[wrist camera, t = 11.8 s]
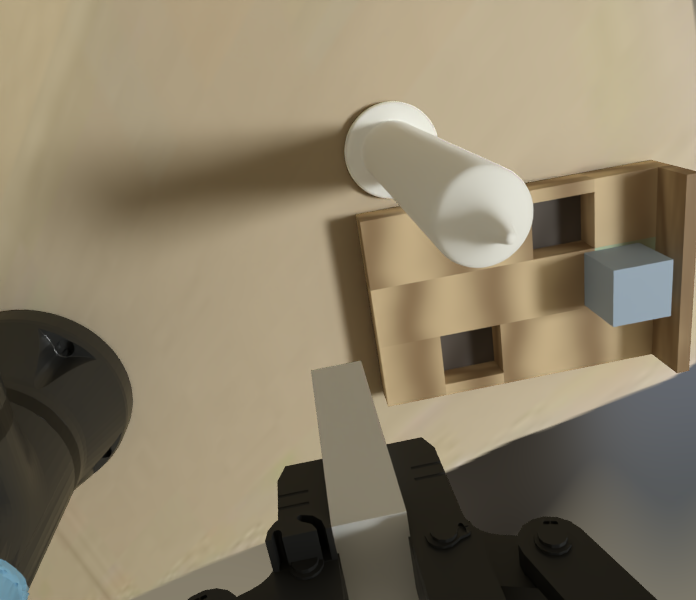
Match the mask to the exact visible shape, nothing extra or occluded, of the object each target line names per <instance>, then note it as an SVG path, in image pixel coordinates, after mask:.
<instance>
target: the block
mask: <svg viewBox="0 0 696 600" xmlns="http://www.w3.org/2000/svg"><path fill="white" fill-rule="evenodd" d="M673 260H674V259H672V258H669V257H667V256H665V255H663V254H661V253H659V252H657V251H655V250H653V249H651V248H649V247H647V246H645V245H643V244H641V243H634V244H629V245H624V246H618V247H613V248H608V249H602V250H597V251H592V252H586V253H584V294H585V306H586V307H588V308H589V309H590V310H592V311H593V312H594V313H595V314H597V315H598V316H599V317H601V318H602V319H603V320H605V321H606V322H607V323H608V324H610V325H611V326H612V327H617V326H622V325H627V324H632V323H637V322H642V321H647V320H653V319H658V318H663V317H668V316H671V302H672V281H673Z"/></svg>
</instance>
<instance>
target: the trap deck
mask: <svg viewBox="0 0 696 600" xmlns="http://www.w3.org/2000/svg"><path fill="white" fill-rule="evenodd" d="M525 184H526V186H527V188H528V190H529V192H530V194H531V197H532V202H533V221H532V225H531V228H530V231H529V233H528V235H527V237H526V239H525V241H524V242H523V244H522V245H521V246H520V248H519V249H518V250H517V251H516V252H515V253H514V254H513V255H511V256H510V257H509V258H507V259H506V260H504V261H502V262H500V263H498V264H495V265H492V266H489V267H483V268H471V267H466V266H462V265H459V264H457V263H455V262H453V261H451V260H450V259H448V258H447V257H446V256H444V254H443V253H442V252H441V251H440V250H439V249H438V248H437V247H436V246H435V245H434V244H433V242H432V241H431V240H430V239H429V238H428V237H427V236H426V235H425V233H424V232H423V231H422V230H421V229H420V228H419V227H418V226H417V225H416V223H415V222H414V221H413V220H412V219H411V218H410V217H409V216H408V214H407V213H406V212H405V211H404V210H403V209H402V208H401V207H400V206H399V207H394V208H388V209H383V210H377V211H372V212H366V213H361V214H356V220H357V227H358V233H359V240H360V246H361V252H362V259H363V265H364V271H365V278H366V284H367V291H368V297H369V303H370V310H371V316H372V323H373V329H374V335H375V342H376V348H377V355H378V361H379V367H380V374H381V380H382V387H383V392H384V395H385V398H386V401H387V404H388V407H389V406H394V405H399V404H404V403H409V402H414V401H419V400H424V399H429V398H434V397H439V396H444V395H449V394H454V393H459V392H464V391H469V390H474V389H479V388H484V387H489V386H494V385H499V384H504V383H509V382H514V381H519V380H524V379H529V378H534V377H539V376H544V375H549V374H554V373H559V372H564V371H569V370H574V369H579V368H584V367H589V366H594V365H599V364H604V363H609V362H614V361H619V360H624V359H629V358H634V357H639V356H644V355H649V354H653V355H654V356H655V357H657V358H658V359H659V360H661V361H662V362H663V363H664V364H666V365H667V366H668V367H670V368H671V369H672V370H674V371H675V372H676V373H680V372H685V371H689V361H690V344H691V327H692V310H693V293H694V276H695V259H696V171H693V170H689V169H685V168H681V167H677V166H673V165H669V164H665V163H661V162H657V161H653V160H649V161H644V162H638V163H633V164H627V165H622V166H617V167H611V168H606V169H600V170H595V171H589V172H584V173H579V174H573V175H568V176H562V177H557V178H551V179H546V180H540V181H535V182H530V183H525ZM634 243H641V244H643V245H645V246H647V247H649V248H651V249H653V250H655V251H657V252H659V253H661V254H663V255H665V256H667V257H669V258H672V259H674V260H673V281H672V302H671V316H668V317H663V318H658V319H653V320H647V321H642V322H637V323H632V324H627V325H622V326H617V327H612V326H611V325H610V324H608V323H607V322H606V321H605V320H603V319H602V318H601V317H599V316H598V315H597V314H595V313H594V312H593V311H592V310H590V309H589V308H588V307H586V306H585V294H584V253H586V252H592V251H597V250H602V249H608V248H613V247H618V246H624V245H629V244H634Z"/></svg>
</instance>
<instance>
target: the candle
mask: <svg viewBox="0 0 696 600" xmlns="http://www.w3.org/2000/svg"><path fill="white" fill-rule="evenodd" d="M344 155H345V162H346V166H347V168H348V171H349V173H350V175H351V177H352V178H353V180H354V181H355V182H356V183H357V185H358V186H359V187H361V188H362V189H363V190H364V191H366V192H367V193H369V194H371V195H374V196H377V197H380V198H388V199H392V198H393V199H394V200H395V201H396V202H397V203H398V204H399V206H400V207H401V208H402V209H403V210H404V211H405V212H406V213H407V214H408V216H409V217H410V218H411V219H412V220H413V221H414V222H415V223H416V225H417V226H418V227H419V228H420V229H421V230H422V231H423V232H424V233H425V235H426V236H427V237H428V238H429V239H430V240H431V241H432V242H433V244H434V245H435V246H436V247H437V248H438V249H439V250H440V251H441V252H442V253H443V254H444V256H446V257H447V258H448V259H450V260H451V261H453V262H455V263H457V264H459V265H462V266H466V267H471V268H483V267H489V266H492V265H495V264H498V263H500V262H502V261H504V260H506V259H507V258H509V257H510V256H511V255H513V254H514V253H515V252H516V251H517V250H518V249H519V248H520V246H521V245H522V244H523V242H524V241H525V239H526V237H527V235H528V233H529V231H530V228H531V225H532V221H533V202H532V197H531V194H530V192H529V190H528V188H527V186H526V184H525V183H524V182H523V180H522V179H521V178H520V177H519V176H518V175H517V174H516V173H514V172H513V171H511V170H509V169H508V168H505V167H503V166H501V165H499V164H496V163H494V162H492V161H490V160H488V159H485V158H483V157H481V156H479V155H476V154H474V153H472V152H470V151H468V150H465V149H463V148H461V147H459V146H456V145H454V144H452V143H450V142H448V141H445V140H443V139H441V138H439V137H437V133H436V130H435V128H434V126H433V124H432V122H431V121H430V119H429V118H428V117H427V116H426V115H425V114H424V113H423V112H422V111H421V110H419V109H418V108H416V107H415V106H413V105H410V104H407V103H404V102H399V101H387V102H381V103H378V104H376V105H373V106H371V107H369V108H368V109H366V110H365V111H364V112H362V113H361V114H360V115H359V116H358V117H357V118H356V120H355V121H354V122H353V124H352V125H351V127H350V129H349V131H348V134H347V137H346V141H345V148H344Z"/></svg>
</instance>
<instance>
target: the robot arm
mask: <svg viewBox="0 0 696 600" xmlns="http://www.w3.org/2000/svg"><path fill="white" fill-rule="evenodd" d="M311 374H312V381H313V389H314V397H315V405H316V412H317V420H318V428H319V436H320V444H321V451H322V459H319V460H314V461H310V462H305V463H300V464H295V465H290V466H285V468H284V470H283V472H282V474H281V476H280V478H279V479H278V521H276V522H275V523H274V524H273V525H272V527H271V528H270V529H269V530H268V532H267V536H266V540H265V542H266V546H267V550H268V553H269V557H270V560H271V564H272V568H273V572H272V573H271V574H270V576H269V577H268V578H267V579H266V580H265V581H264V582H262V583H261V584H260V585H258V586H257V587H255V588H253V589H252V590H250V591H248V592H246V593H244V594H242V595H240V596H238V597H236V596H235V595H234V594H232V593H231V592H230V591H228V590H223V589H217V588H216V589H210V590H205V591H202V592H200V593H198V594H196V595H194V596H192V597H190V598H189V599H188V600H657V599H656V598H655V597H654V596H653V595H651V594H650V593H649V592H648V591H647V590H646V589H645V588H644V587H643V586H642V585H641V584H640V583H639V582H638V581H637V580H635V579H634V578H633V577H632V576H631V575H630V574H629V573H628V572H627V571H626V570H625V569H624V568H623V567H622V566H620V565H619V564H618V563H617V562H616V561H615V560H614V559H613V558H612V557H611V556H610V555H609V554H607V552H605V551H604V550H603V549H602V548H601V547H600V546H599V545H598V544H597V543H596V542H595V541H594V540H593V539H592V538H590V537H589V536H588V535H587V534H586V533H585V532H584V531H583V530H582V529H581V528H579V527H578V526H576V525H574V524H573V523H572V522H570V521H568V520H564V519H561V518H558V517H541V518H537V519H533V520H531V521H529V522H528V523H526V524H525V525H523V526H522V528H521V530H520V532H519V533H518V536H513V535H498V534H491V533H487V532H484V531H481V530H479V529H477V528H476V527H474V526H473V525H472V524H471V522H470V521H468V520H467V519H466V518H465V517H464V515H463V513H462V511H461V509H460V506H459V504H458V502H457V499H456V497H455V495H454V492H453V490H452V488H451V485H450V483H449V480H448V478H447V476H446V475H445V471H444V469H443V466H442V464H441V463H440V459H439V457H438V455H437V452H436V450H435V448H434V447H433V446H432V445H431V444H429V443H428V442H427V441H426V440H424V439H423V438H422V437H421V438H416V439H411V440H406V441H401V442H396V443H391V444H386V442H385V439H384V435H383V432H382V429H381V425H380V422H379V419H378V415H377V412H376V409H375V405H374V402H373V399H372V395H371V392H370V389H369V385H368V382H367V379H366V376H365V372H364V369H363V366H362V362H361V361H356V362H351V363H346V364H341V365H336V366H331V367H326V368H321V369H316V370H311ZM132 405H133V397H132V389H131V384H130V381H129V377H128V375H127V372H126V370H125V368H124V366H123V364H122V363H121V361H120V359H119V358H118V356H117V355H116V354H115V353H114V351H113V350H112V349H111V348H110V347H109V346H108V345H107V344H106V343H105V342H104V341H103V340H102V339H101V338H100V337H98V336H97V335H96V334H95V333H93V332H92V331H90V330H89V329H87V328H85V327H84V326H82V325H80V324H78V323H76V322H74V321H72V320H69V319H67V318H64V317H61V316H58V315H55V314H51V313H46V312H40V311H31V310H15V311H6V312H0V600H27V599H28V595H29V593H28V590H29V588H30V585H31V583H32V581H33V579H34V577H35V574H36V572H37V570H38V568H39V566H40V564H41V561H42V559H43V557H44V555H45V553H46V550H47V548H48V546H49V544H50V542H51V540H52V537H53V535H54V533H55V531H56V529H57V527H58V524H59V522H60V520H61V518H62V516H63V513H64V511H65V509H66V507H67V505H68V503H69V500H70V498H71V496H72V494H73V491H74V490H75V489H76V488H77V487H79V486H80V485H81V484H82V483H83V482H85V481H86V480H87V479H88V478H89V477H90V476H92V475H93V474H94V473H95V472H96V471H98V470H99V469H100V468H101V467H102V466H103V465H104V464H105V463H106V462H107V461H108V460H109V459H110V458H111V457H112V456H113V454H114V453H115V451H116V450H117V448H118V447H119V445H120V443H121V441H122V439H123V436H124V434H125V432H126V429H127V427H128V424H129V421H130V418H131V413H132Z"/></svg>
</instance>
